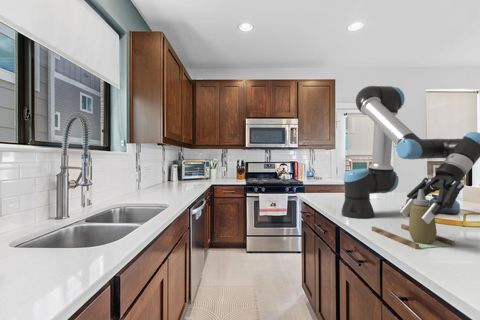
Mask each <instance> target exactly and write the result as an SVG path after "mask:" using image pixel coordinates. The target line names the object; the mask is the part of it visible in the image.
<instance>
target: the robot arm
mask: <svg viewBox="0 0 480 320" xmlns="http://www.w3.org/2000/svg"><path fill="white" fill-rule="evenodd" d="M404 104H405V94H404V92H403V90H401V88H399V87H396V86H391V85H390V86H389V85H388V86H387V85H384V86H383V85H381V86H380V85H379V86H377V85H367V86H365V87H363V88H362V89H361V90H360V91H359V92H358V93H357V94H356V97H355V105H356V108H357V109H358V110H359V112H360V113H361V114H362V115H364V116H367V117H368V118H370V120H371V121H372V122H373V123H374V124H373V134H372V135H373V138H372V155H371V157H372V158H371V164H370V165H369V166H367V167H368V168H355V169H350V170H346V171H345V172H344V175H343V176H344V177H343V181H344V182H343V183H344V184H343V185H344V201H343V203H342V208H341V215H342V216H344V217H346V218H352V219H370V218H374V217H375V210H374V208H373V206H372V203H371V197H370V194H371V195H372V194H387V193H392V192H394V191H395V190H396V189H397V187H398V185H399V176H398V173H397V172H396V171H394V170H395V168H394V166H392V164H391V163H392V151H393V150H392V149H393V144H394V145H395V146H396V147H395V150H396V151H395V152H396V154H397V156H398V157H399V158H401V159H404V160H409V161H410V160H425V159H444V160H443V162H442V163H441V164H440V165H439V166H438V167H437V169H436V170H435V175H434V176H433V177H432V178H427V177H424V178H423V179H422V181H421V182H420V183H419V184H418V185H416V186H415V187H414V188H413V189H412V190H411V191H410V192H409V193H407V195H406V197H407V198H408V200H407V202H406V203H405V204H404V206H403V207H402V209H401V210H400V211H399V213H400V214H401V215H402V216H403V217H404V218H407V217H408V216H410V208H411V206H412V205H415V204H414V199H417V197H418V192H419V189H423V190H424V194H425V197H427V196H428V195H430V194H431V193H435V192H437V191H438V194H437V195H438V196H437V200H435V202H433V203H432V204H431V205H430V206H431V207H430V208H429V209H428V211H427V212H426V213H425V214H424V215H423V217H422V219H423V220H424V221H425V222H426V223H427V224H429V223H430V222H431V221H432V219H433V218H434V217H436V216H439V214H440V213H441V211H442V210H445V209H446V208H448V209H452V208H453V206H454V204H455V201H456V200H457V199H458V196H459V194H460V192H461V190H463V189H464V188H465V185H464V184H463V183H462V182H461V181H463V179H464V178H465V176H466V175H468V173H469V172H470V170H471V169H472V168H473V166H474V165H475V164H476V163H477V161H478V160H479V159H480V132H477V131H470V132H467V133H466V134H465V135H464V136H463V137H462V138H430V139H429V138H420V137H419V136H418V135H417V134H415V133H414V132H413V131H412V130H411V129H410V128H409V127H408V126H406V124H404V122H402V121H401V120H400V119H399V118H398V117H397V115H398V113H399V110H401V109H402V108H403V106H404Z"/></svg>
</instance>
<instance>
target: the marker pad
mask: <svg viewBox="0 0 480 320" xmlns="http://www.w3.org/2000/svg"><path fill="white" fill-rule="evenodd" d="M404 238H405V239H407V240H410V241H412V242H415V241H413V240H412V238H411V236H409V237H404ZM415 243H417V244H419V249H420V248H421V249H429V248H430V249H431V247H433V248H443V247H442V246H444V247H451V245H448V244H445V243H442V242H440V241H437V240H434V242H433V243H430V244H425V243H419V242H415Z"/></svg>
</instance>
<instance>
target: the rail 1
mask: <svg viewBox="0 0 480 320" xmlns="http://www.w3.org/2000/svg"><path fill="white" fill-rule="evenodd" d="M371 231H372V232H374V233H377V234H380V235H382V236H384V237H386V238H389V239H391V240H393V241H396V242H398V243H401V244H403V245H405V246H407V245H408V247H410V248H412V249H414V248H415V250H416V249H417V250H419V249H420V248H419V244H417V243H415V242H412V241H410V240H407V239H405V238H406V237H402V236H399V235H397V234H394V233H392V232H389V231H387V230H384V229H381V228H380V227H376V226H371Z"/></svg>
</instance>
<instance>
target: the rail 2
mask: <svg viewBox="0 0 480 320" xmlns="http://www.w3.org/2000/svg"><path fill="white" fill-rule="evenodd" d="M400 229H403V230H405V231H408V232H409V225H407V224H400ZM434 240H437V241H440V242H442V243H445V244H448V245H450V247H452V246H453V247H454V246H456V243H455V242H456V241H455V240H453V239H450V238H447V237H444V236H440V235H438V234H436V236H435V239H434Z"/></svg>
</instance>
